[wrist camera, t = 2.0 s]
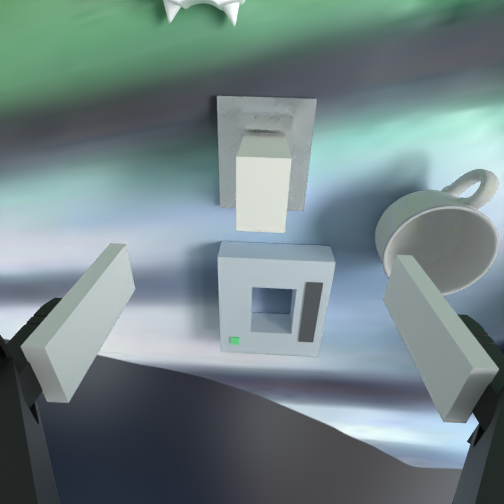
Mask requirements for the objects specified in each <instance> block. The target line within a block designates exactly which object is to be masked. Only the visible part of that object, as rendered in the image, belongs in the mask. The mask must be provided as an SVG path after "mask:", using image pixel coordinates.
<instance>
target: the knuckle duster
mask: <svg viewBox="0 0 504 504" xmlns="http://www.w3.org/2000/svg"><path fill="white" fill-rule="evenodd" d="M245 1H246V0H163V2H164V6H165V10H166V14H167V18H168V22H169V24H170V23H171V21H172V20H173V18H174V17H175V15H176V14H177V12H178V11H179V9H180V8H184V9H187V8H189V7H190V6H192V5H195V4H200V3H205V4H210V5H213V6H215V7H217V8H218V9H220V10H221V11H223V10H224V12H225V13H226V15H227V16H228V18H229V19H230V21H231V22H232V24H233V25H234V27H235V25H236V20H237V14H238V9H239V6H240V5H243V3H244V2H245Z"/></svg>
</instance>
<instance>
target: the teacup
mask: <svg viewBox="0 0 504 504" xmlns="http://www.w3.org/2000/svg"><path fill="white" fill-rule="evenodd" d="M479 181H481V184H480V187H479V188H478V190H477V191H476V192H475V193H474V194H473V195H472V196H471V197H469V198H458V196H459V195H460V194H461V193H463V192H464V191H465V190H466V189H468V188H469V187H470V186H472V185H473V184H475V183H477V182H479ZM497 189H498V179H497V177H496V176H495V175H494V174H493V173H492V172H490V171H487V170H484V169H476V170H472V171H470V172H468V173H466V174H464V175H463V176H461V177H460V178H459V179H457V180H456V181H455V182H454V183H452V184H451V185H450V186H447V187H445V188H444V189H443V190H441V191H436V190H422V191H416V192H413V193H410V194H407V195H405V196H403V197H401V198H399V199H398V200H396V201H395V202H393V203H392V204H391V205H390V206H389V207H388V208H387V209H386V210H385V211H384V212H383V214H382V216H381V217H380V219H379V221H378V223H377V226H376V231H375V245H376V249H377V252H378V255H379V257H380V259H381V262H382V264H383V267H384V271H385V274H386V275H387V277H388V279H389V277H390V274H391V270H392V267H393V264H394V260H395V257H396V255H412V256H413V257H414V258H415V260H416V261H417V262H418V264H419V265H420V266H421V268H422V269H423V270H424V271H425V273H426V274H427V275H428V277H429V278H430V279H431V281H432V282H433V283H434V285H435V286H436V287H437V288H438V290H439V291H440V292H441V294H442V295H443V296H445V295H449V294H452V293H455V292H458V291H461V290H462V289H464V288H467V287H468V286H470V285H472V284H473V283H475V282H476V281H477V280H478V279H480V278H481V277H482V276H483V275H484V274H485V273H486V271H487V270H488V269H489V268H490V266H491V265H492V263H493V262H494V260H495V257H496V255H497V252H498V246H499V237H498V233H497V230H496V228H495V226H494V224H493V223H492V222H491V221H490V219H489V218H487V217H486V216H485V215H484V214H482V213H481V212H479V211H477V209H478V208H480V207H482V206H484V205H485V204H486V203H488V202H489V201H490V200H491V199H492V198H493V196H494V195H495V193H496V191H497Z"/></svg>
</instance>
